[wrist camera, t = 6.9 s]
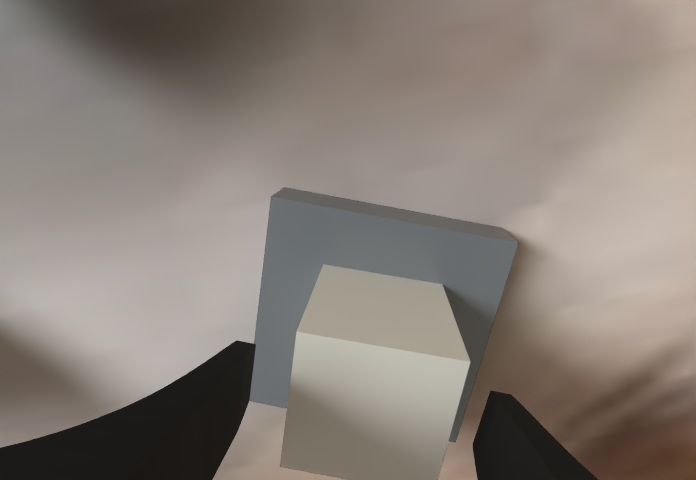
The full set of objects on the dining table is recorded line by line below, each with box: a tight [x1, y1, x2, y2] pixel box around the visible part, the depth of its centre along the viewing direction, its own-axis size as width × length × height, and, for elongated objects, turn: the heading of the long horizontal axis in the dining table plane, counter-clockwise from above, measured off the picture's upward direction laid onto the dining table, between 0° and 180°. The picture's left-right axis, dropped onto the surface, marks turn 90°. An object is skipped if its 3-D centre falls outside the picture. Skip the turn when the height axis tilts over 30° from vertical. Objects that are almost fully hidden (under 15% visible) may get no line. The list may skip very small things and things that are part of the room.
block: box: [280, 264, 470, 480], centre depth 13 cm, size 4×4×5 cm
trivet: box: [249, 187, 518, 442], centre depth 17 cm, size 9×9×2 cm
